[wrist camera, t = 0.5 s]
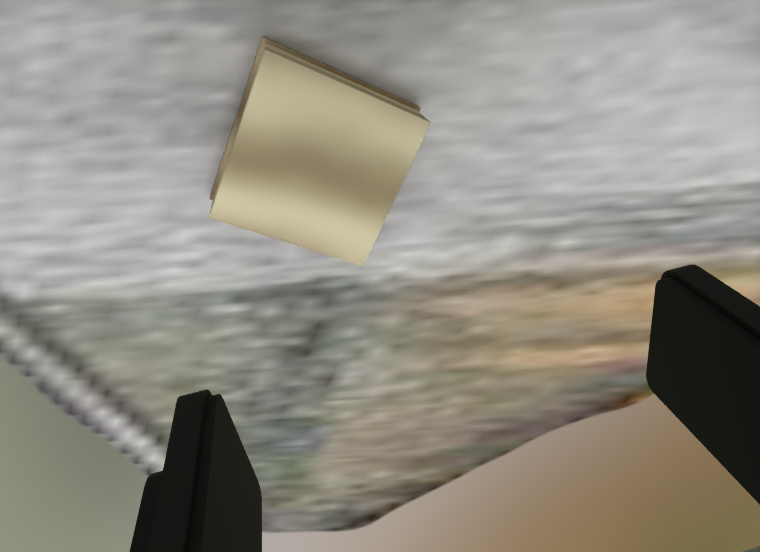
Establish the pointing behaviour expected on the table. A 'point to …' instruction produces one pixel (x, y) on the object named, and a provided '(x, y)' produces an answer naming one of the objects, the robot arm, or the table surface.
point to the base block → (315, 155)
